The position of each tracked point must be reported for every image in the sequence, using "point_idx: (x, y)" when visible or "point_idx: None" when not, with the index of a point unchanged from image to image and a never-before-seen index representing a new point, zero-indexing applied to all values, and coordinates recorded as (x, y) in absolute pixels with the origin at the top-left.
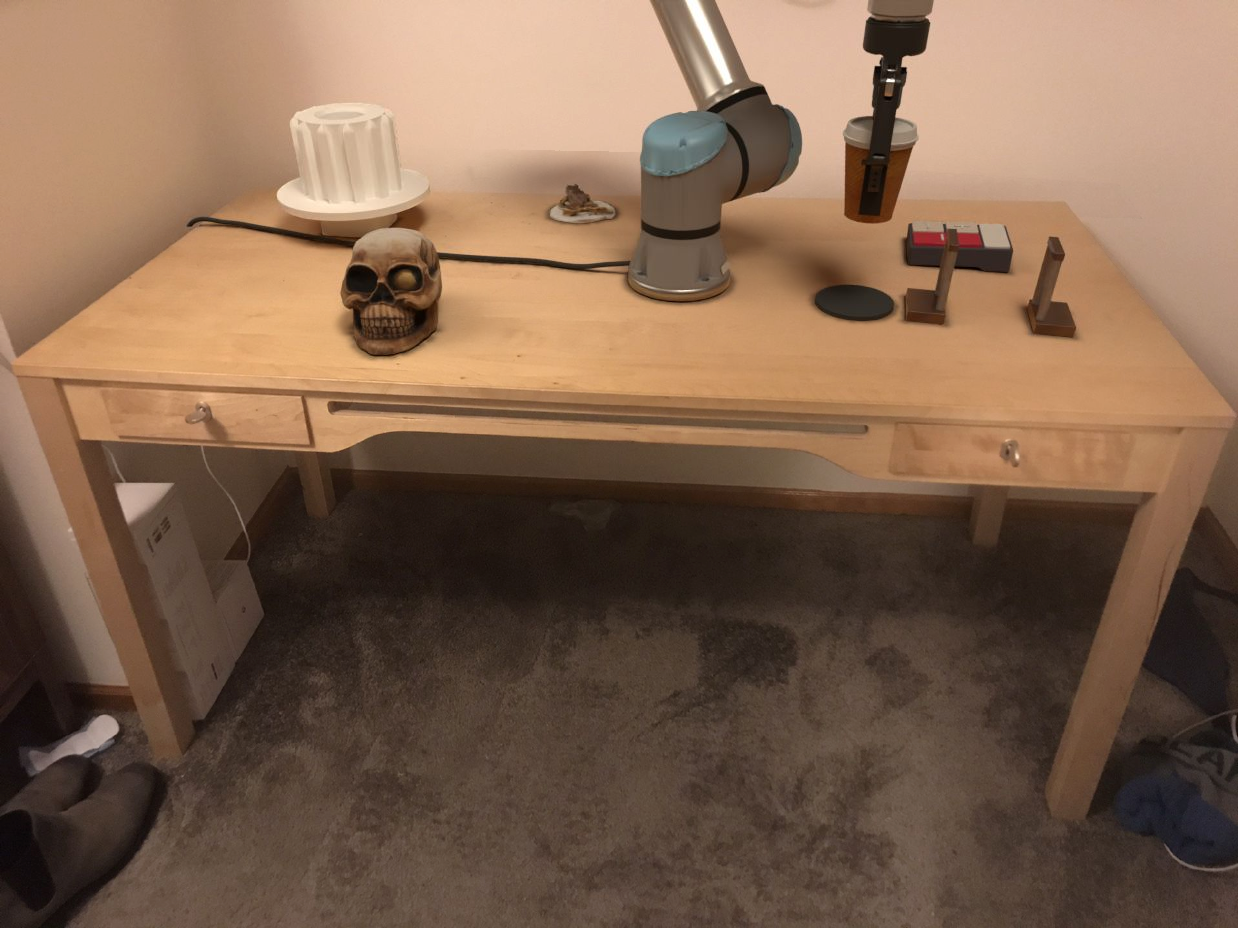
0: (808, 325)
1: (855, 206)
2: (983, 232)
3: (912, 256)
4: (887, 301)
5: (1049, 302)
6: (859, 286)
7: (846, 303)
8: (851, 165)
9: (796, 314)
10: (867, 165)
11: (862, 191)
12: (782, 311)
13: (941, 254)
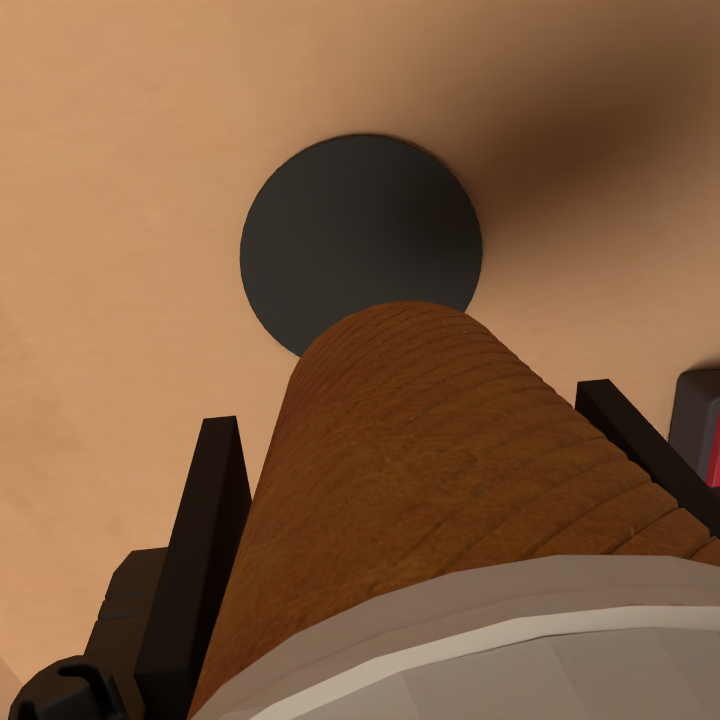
0: (148, 143)
1: (287, 400)
2: None
3: (692, 393)
4: None
5: None
6: (471, 266)
7: (328, 244)
8: (286, 513)
9: (216, 87)
10: (136, 676)
11: (183, 508)
12: (221, 29)
13: None
